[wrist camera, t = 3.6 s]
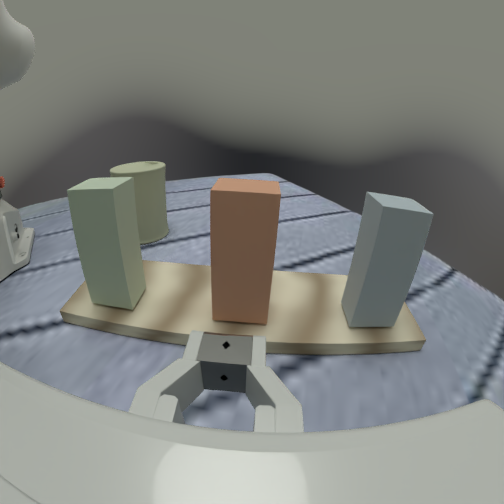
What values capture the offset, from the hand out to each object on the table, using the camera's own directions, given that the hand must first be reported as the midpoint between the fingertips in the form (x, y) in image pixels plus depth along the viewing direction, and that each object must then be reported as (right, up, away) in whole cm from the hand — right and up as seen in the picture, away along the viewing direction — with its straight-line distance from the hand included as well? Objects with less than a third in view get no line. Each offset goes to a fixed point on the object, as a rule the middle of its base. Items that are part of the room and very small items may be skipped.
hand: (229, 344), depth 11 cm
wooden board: (0, -2, +19) cm, 19 cm away
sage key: (-13, -1, +16) cm, 21 cm away
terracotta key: (0, -2, +16) cm, 16 cm away
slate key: (+13, -3, +16) cm, 20 cm away
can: (-18, +7, +34) cm, 39 cm away
